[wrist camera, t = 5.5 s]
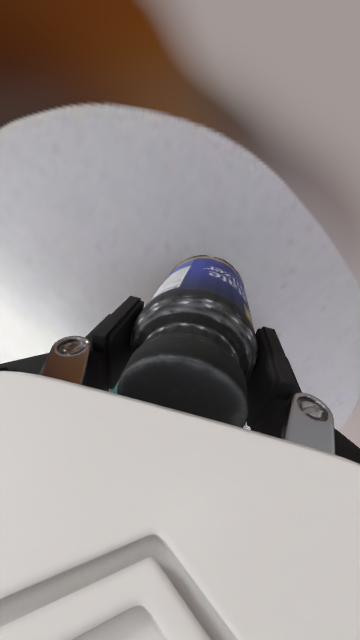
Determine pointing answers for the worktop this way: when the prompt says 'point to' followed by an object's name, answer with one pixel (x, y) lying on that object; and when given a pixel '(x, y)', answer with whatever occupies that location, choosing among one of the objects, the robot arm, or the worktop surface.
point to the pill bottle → (194, 344)
